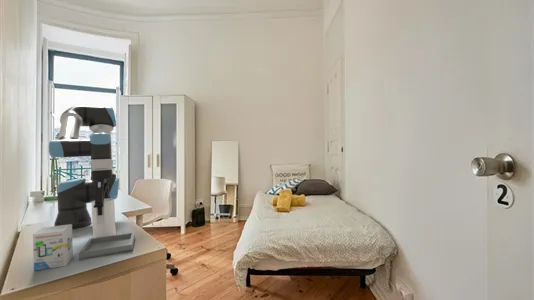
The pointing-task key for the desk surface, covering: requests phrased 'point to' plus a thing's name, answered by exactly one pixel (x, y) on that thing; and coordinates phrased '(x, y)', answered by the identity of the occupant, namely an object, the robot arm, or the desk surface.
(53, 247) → the ink box
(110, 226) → the cup
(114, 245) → the tray
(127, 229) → the desk surface
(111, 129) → the robot arm
